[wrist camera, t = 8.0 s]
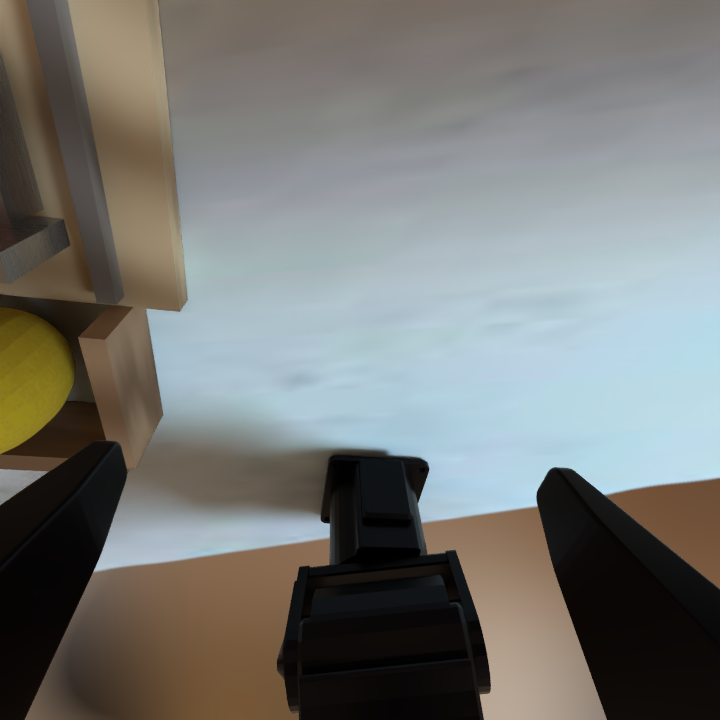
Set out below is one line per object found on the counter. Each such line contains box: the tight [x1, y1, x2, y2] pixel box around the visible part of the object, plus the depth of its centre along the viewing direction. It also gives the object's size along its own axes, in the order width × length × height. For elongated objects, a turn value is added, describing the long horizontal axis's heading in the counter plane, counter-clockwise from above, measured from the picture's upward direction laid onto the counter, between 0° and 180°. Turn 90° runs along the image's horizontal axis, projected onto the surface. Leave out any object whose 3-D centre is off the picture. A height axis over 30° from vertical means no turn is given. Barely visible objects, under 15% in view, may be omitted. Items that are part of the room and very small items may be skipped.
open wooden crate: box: [0, 305, 163, 473], centre depth 20 cm, size 8×10×4 cm
